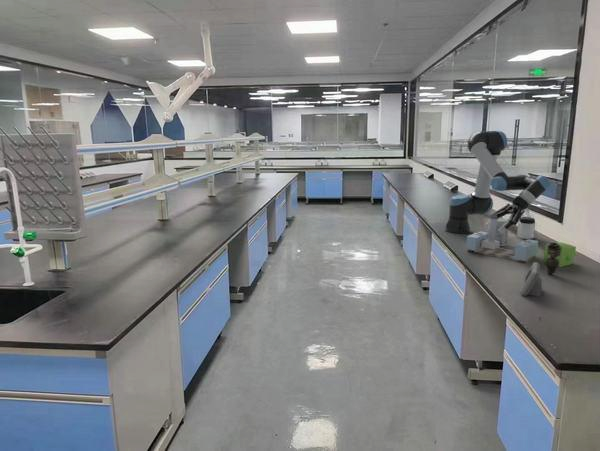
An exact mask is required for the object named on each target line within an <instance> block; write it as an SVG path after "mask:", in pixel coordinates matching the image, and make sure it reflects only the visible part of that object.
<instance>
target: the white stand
mask: <svg viewBox="0 0 600 451" xmlns="http://www.w3.org/2000/svg"><path fill="white" fill-rule="evenodd" d="M488 218H489V219H488V221H489V227H487V228H488V229H487V232H488V237H487V239H485V240H483V241H482V245H481V247H484V248H489V249H494V250H495V249H497V248H500V246H499V245H500V241H496V240H495V231H496V221H497V214H495V213H494V212H492V213H490V214H489V215H488Z"/></svg>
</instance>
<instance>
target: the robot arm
mask: <svg viewBox="0 0 600 451" xmlns="http://www.w3.org/2000/svg"><path fill="white" fill-rule="evenodd" d="M507 145H508V138H507V135H506V133H504V132H503V131H501V130H489V131H488V130H486V131H482V130H481V131H480V130H479V131H476V132H473V133H472V134H471V135H470V137H468V141H467V149H468V151H469V152H470V154H471V155H472V156H475V158H476V159H477V161H478V163H480V164H479V169H478V172H477V178H476V183H475V188H474V191H471V195H468V194H456V195H453V196H452V197H451V198H450V200H449V213H448V220H447V222H446V225H445V229H444V230H445V231H446V232H448V233H453V234H454V233H455V234H468V233H470V232H471V227H470V222H469V216H471V215H486V214H489V213H490V212H491V211H492V209H493V207H494V200H493V198H492V196H491V194H490V189H492V190H494V191H497V192H503V191H521V192H520V193H519V194H518V195H517V196H516V197H514V199H513V200H512V204H510V203H507V204H505V206H503V207H501V208H499V209H498V210H496V211H494V212H493V213H495V214H497V220H498V218H502V217H503V216H506V215H510V217H509V218H508V219H507V220H508V221H509V222H508V221H507V222H506V223H505V224H504V225H503V226H502V227H501V228H499V229H498V231H499V232H500V233H501V234H502V233H503V232H504V231H505V230H507V229H508V230H509V228H510V227H511V226H516V225H518V222H519V220H520V217H523V214H524V213H525V212H526V209H527V208H529V206H530V205H531V204H532V203H534V201H536V200H537V199H538V198H539V197H540V196H541V195H542V194H543V193H545V191H547V190H548V188H550V186H551V185H552V182H551V180H550V179H549V178H547V177H546V176H544V175H539V176H537V177H535V178H534V177H531V176H528V175H525V174H517V175H514V176H509V175H507V173H506V172H505V170H504V169H503V168H502V167H501V165H500V164H499V162H498V161H497V158H498V157H499V156H500V155H501V153H502V151H504V150H505V149H506V148H507ZM484 225H485V226H486V227H487V228H488V227H489V220H488V221H487V222H486V223H484Z"/></svg>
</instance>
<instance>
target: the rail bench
mask: <svg viewBox="0 0 600 451" xmlns="http://www.w3.org/2000/svg"><path fill="white" fill-rule="evenodd" d="M468 250H470V249H467V251H468ZM472 251H474V253H477V252H478V254H482V253H483V255H486V256H492V257H497V258H502V259H506V260H512V261H516V262H521V263H526V264H527V263H528V262H530V261H532V260H534V259H536V255H534V256H533V257H531V258H529V259H527V260H525V261H523V260H518V259H514V256H515V250H512V249H507V248H506V249H505V248H502V247H499V248H497V249H495V250H494V249H489V248H484V247H480V248H479V249H477V250H470V251H469V252H472Z"/></svg>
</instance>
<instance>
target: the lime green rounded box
mask: <svg viewBox="0 0 600 451" xmlns="http://www.w3.org/2000/svg"><path fill="white" fill-rule="evenodd" d="M555 243H557V244H559V245H560V246H561V247H562V249H561V252H560V255H559V256H558V257H556V259H558V260H559V266H558V267H557V268H562V267H565V266H569V265H573V264H574V259H575V257H576V256H577V254H578V252H577V251H576V250H577V247H576V246H574V245H572V244H569V243H565V242H562V241H557V242H555ZM548 245H550V243H548V244H545V248H544V253H543V260H542V261H543V263H544V264H546V259H547V258H550V255H549V254H548V253H547V252H548V250H547V249H548V247H547V246H548Z"/></svg>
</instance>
